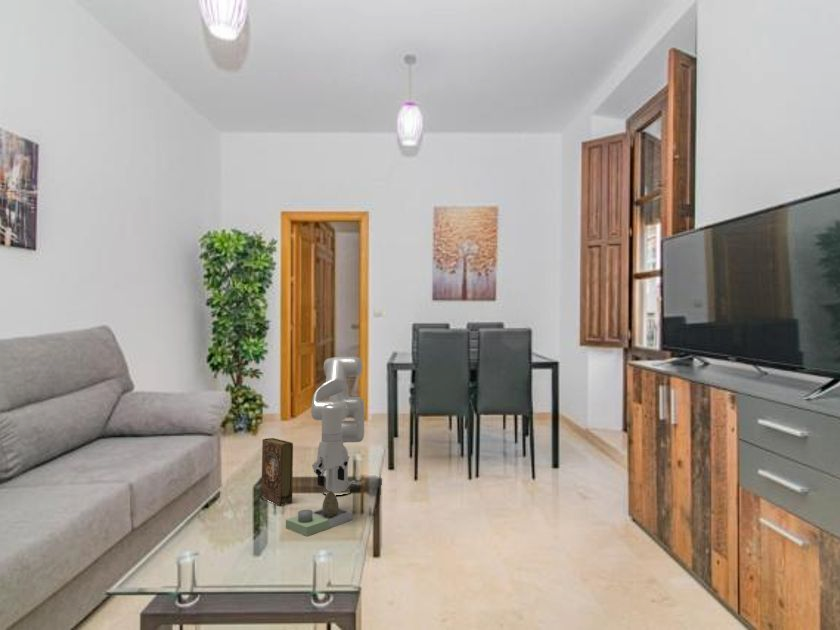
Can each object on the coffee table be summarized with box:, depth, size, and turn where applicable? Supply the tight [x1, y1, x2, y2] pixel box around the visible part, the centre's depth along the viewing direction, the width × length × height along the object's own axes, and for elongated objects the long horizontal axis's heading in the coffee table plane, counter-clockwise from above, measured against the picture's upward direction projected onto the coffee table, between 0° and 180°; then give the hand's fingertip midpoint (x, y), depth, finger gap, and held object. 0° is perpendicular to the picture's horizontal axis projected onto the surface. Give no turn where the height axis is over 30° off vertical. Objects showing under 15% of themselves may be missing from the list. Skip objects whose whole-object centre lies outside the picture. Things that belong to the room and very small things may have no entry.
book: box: [260, 437, 294, 507], centre depth 217 cm, size 16×6×25 cm, turn 47°
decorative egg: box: [321, 492, 339, 518], centre depth 193 cm, size 6×6×10 cm
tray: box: [312, 507, 353, 529], centre depth 193 cm, size 11×11×3 cm
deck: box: [285, 509, 330, 537], centre depth 185 cm, size 10×12×6 cm
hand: (331, 482), depth 194 cm, fingers open, 9 cm apart
